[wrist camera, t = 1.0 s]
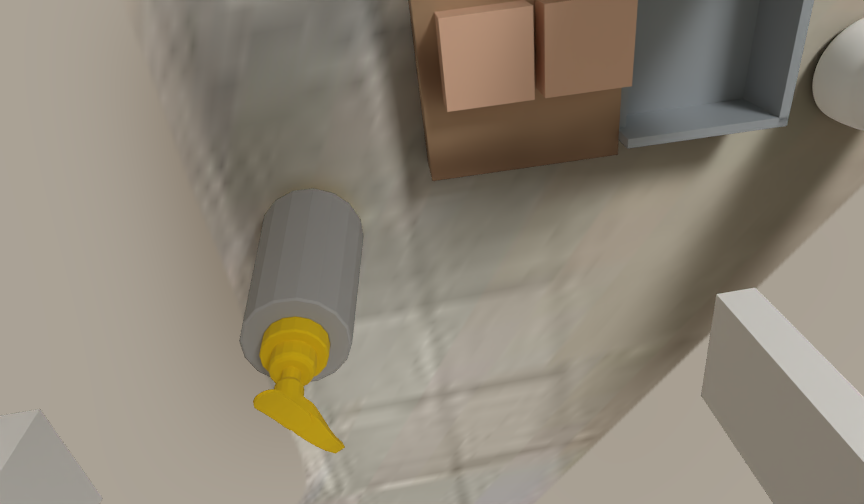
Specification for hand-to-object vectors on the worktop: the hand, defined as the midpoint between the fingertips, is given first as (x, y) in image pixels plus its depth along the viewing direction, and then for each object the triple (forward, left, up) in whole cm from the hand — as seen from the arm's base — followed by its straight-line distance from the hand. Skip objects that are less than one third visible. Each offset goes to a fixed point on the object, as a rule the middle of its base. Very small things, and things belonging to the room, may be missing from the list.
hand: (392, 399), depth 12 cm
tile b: (0, +12, -26) cm, 28 cm away
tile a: (0, +6, -26) cm, 26 cm away
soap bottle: (+11, -6, -29) cm, 31 cm away
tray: (0, +20, -29) cm, 35 cm away
